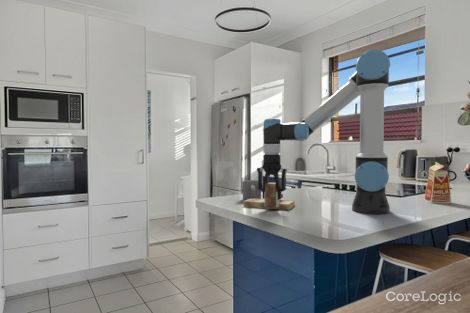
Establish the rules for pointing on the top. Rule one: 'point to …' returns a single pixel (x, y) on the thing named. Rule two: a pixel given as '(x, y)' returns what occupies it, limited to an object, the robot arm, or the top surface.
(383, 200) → the robot arm
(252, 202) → the oak board
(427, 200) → the milk carton
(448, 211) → the top surface
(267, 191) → the block
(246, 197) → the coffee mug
